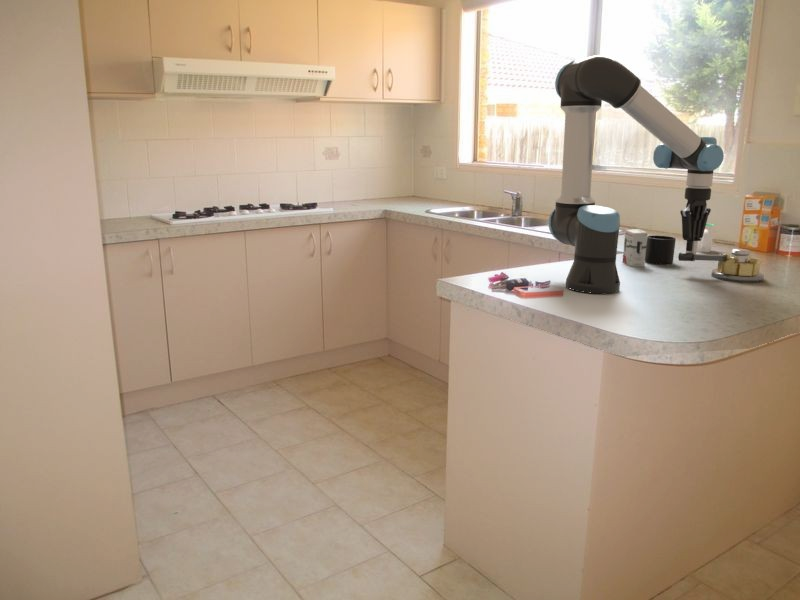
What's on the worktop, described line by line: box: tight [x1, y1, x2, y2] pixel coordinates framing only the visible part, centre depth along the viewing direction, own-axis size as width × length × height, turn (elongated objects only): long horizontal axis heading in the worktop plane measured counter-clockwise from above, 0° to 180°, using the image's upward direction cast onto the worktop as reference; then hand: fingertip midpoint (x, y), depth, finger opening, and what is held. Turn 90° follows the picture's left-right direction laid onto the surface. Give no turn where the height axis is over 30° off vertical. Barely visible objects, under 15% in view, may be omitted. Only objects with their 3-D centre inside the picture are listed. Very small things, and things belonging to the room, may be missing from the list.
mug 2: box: [696, 223, 715, 253], centre depth 262 cm, size 12×8×10 cm
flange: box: [711, 248, 765, 284], centre depth 212 cm, size 15×15×9 cm
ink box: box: [622, 228, 648, 267], centre depth 231 cm, size 8×5×12 cm, turn 2°
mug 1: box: [645, 235, 677, 266], centre depth 237 cm, size 9×12×9 cm
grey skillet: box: [677, 252, 761, 276], centre depth 212 cm, size 11×24×6 cm, turn 85°
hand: (689, 260), depth 216 cm, fingers closed
